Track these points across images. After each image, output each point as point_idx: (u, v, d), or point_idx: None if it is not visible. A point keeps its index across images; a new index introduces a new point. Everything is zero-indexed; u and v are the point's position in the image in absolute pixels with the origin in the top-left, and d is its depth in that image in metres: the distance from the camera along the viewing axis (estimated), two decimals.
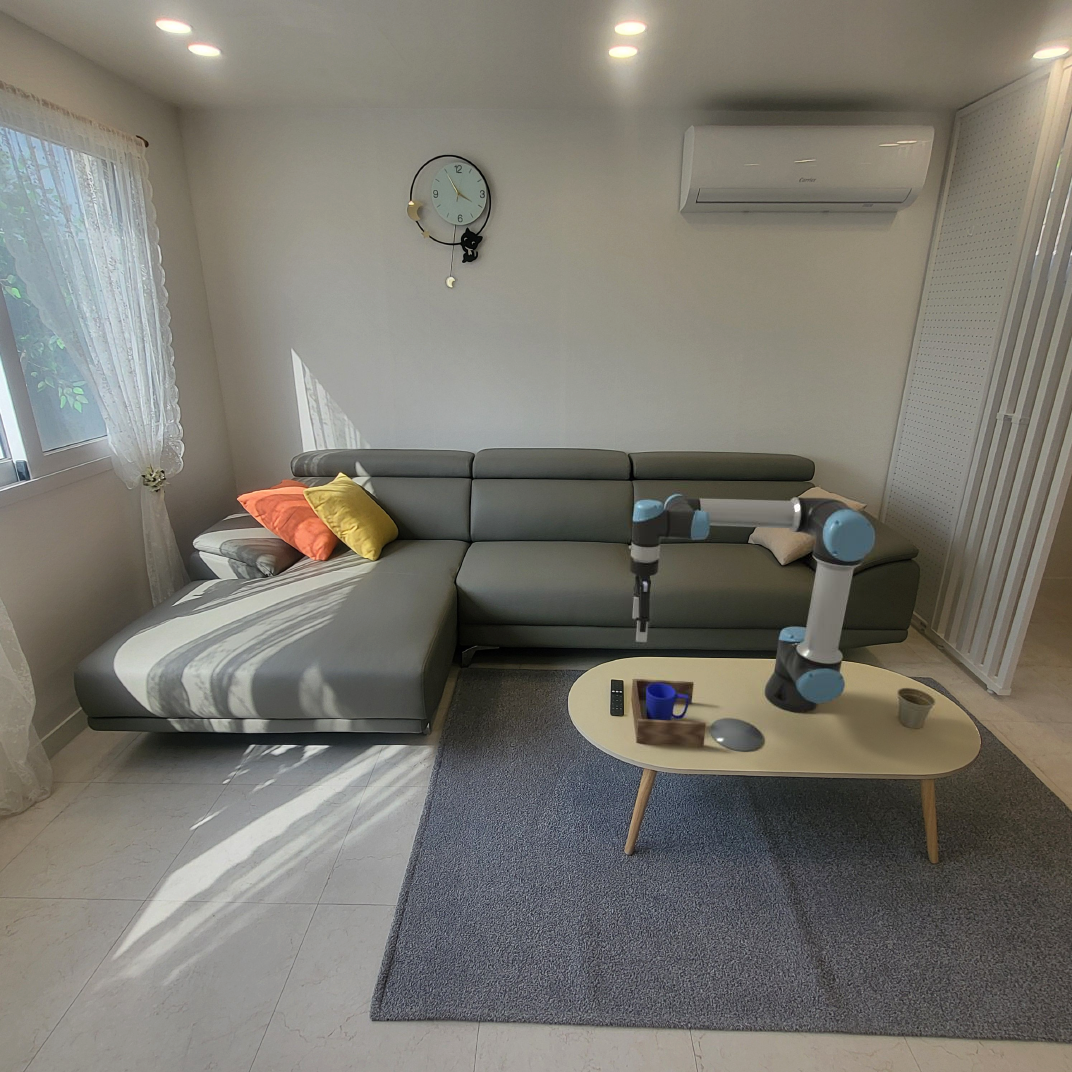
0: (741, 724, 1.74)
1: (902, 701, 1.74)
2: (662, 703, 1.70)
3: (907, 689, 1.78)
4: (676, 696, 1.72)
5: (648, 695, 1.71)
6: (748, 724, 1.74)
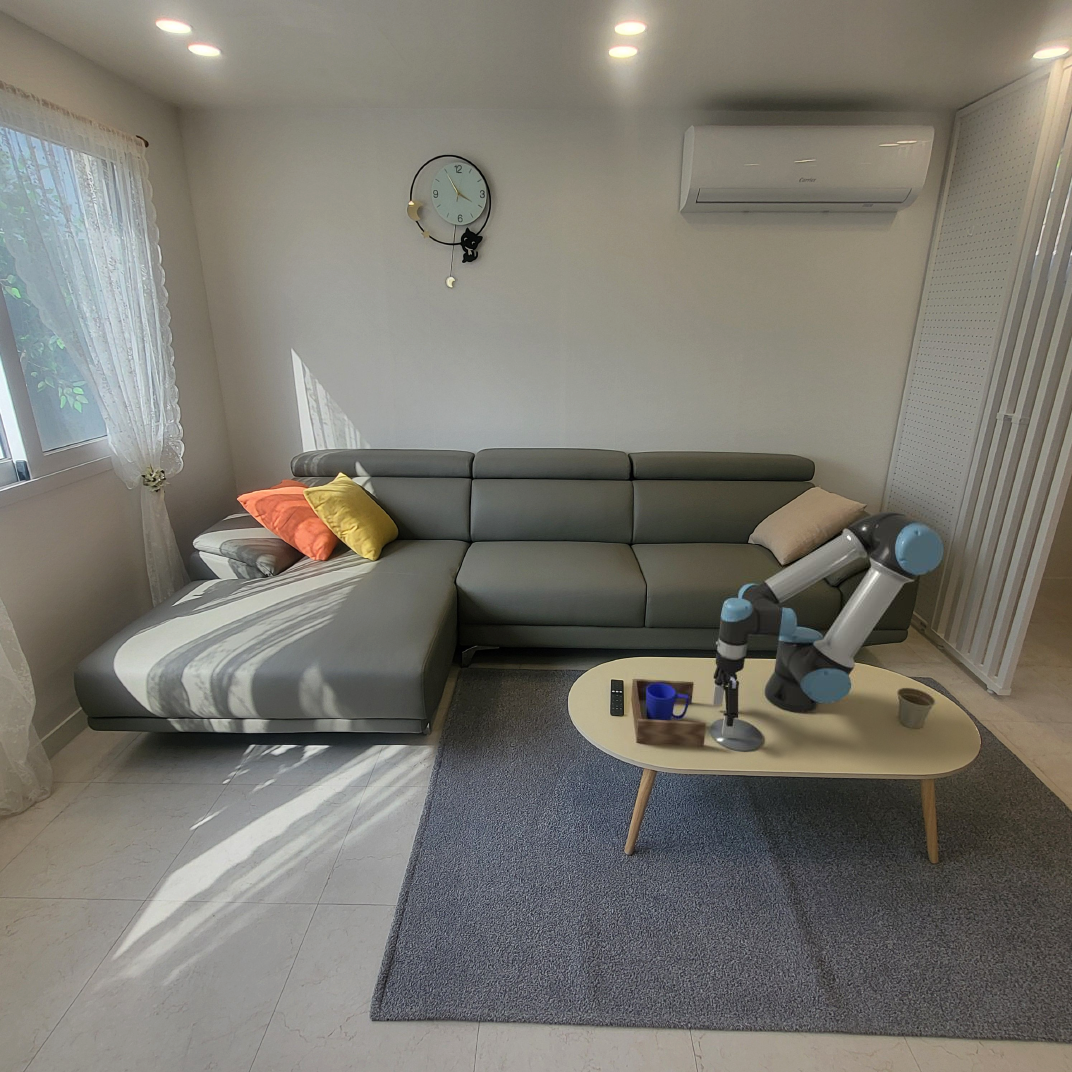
0: (741, 724, 1.74)
1: (902, 701, 1.74)
2: (662, 703, 1.70)
3: (907, 689, 1.78)
4: (676, 696, 1.72)
5: (648, 695, 1.71)
6: (748, 724, 1.74)
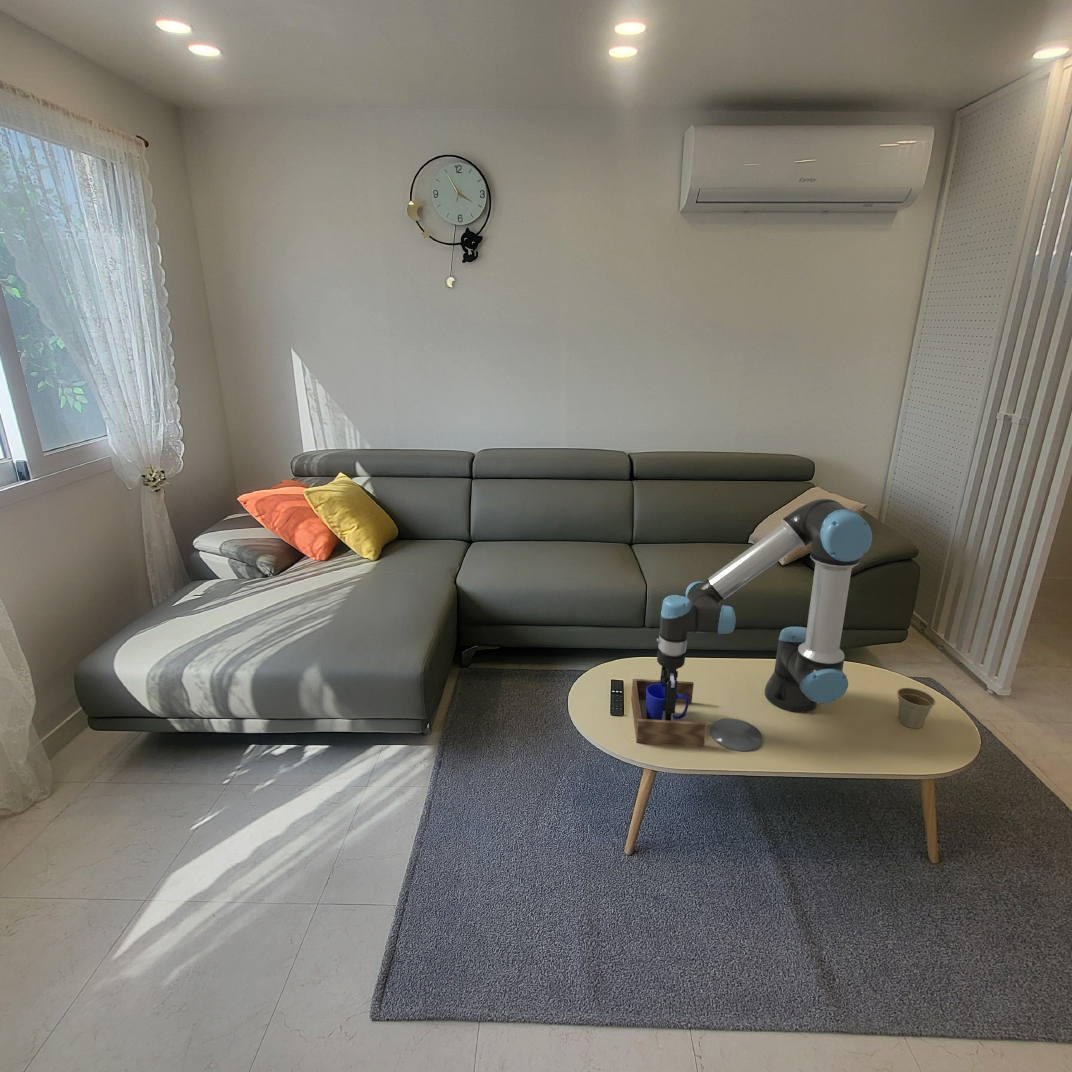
0: (741, 724, 1.74)
1: (902, 701, 1.74)
2: (662, 703, 1.69)
3: (907, 689, 1.78)
4: (676, 696, 1.72)
5: (648, 696, 1.71)
6: (748, 724, 1.74)
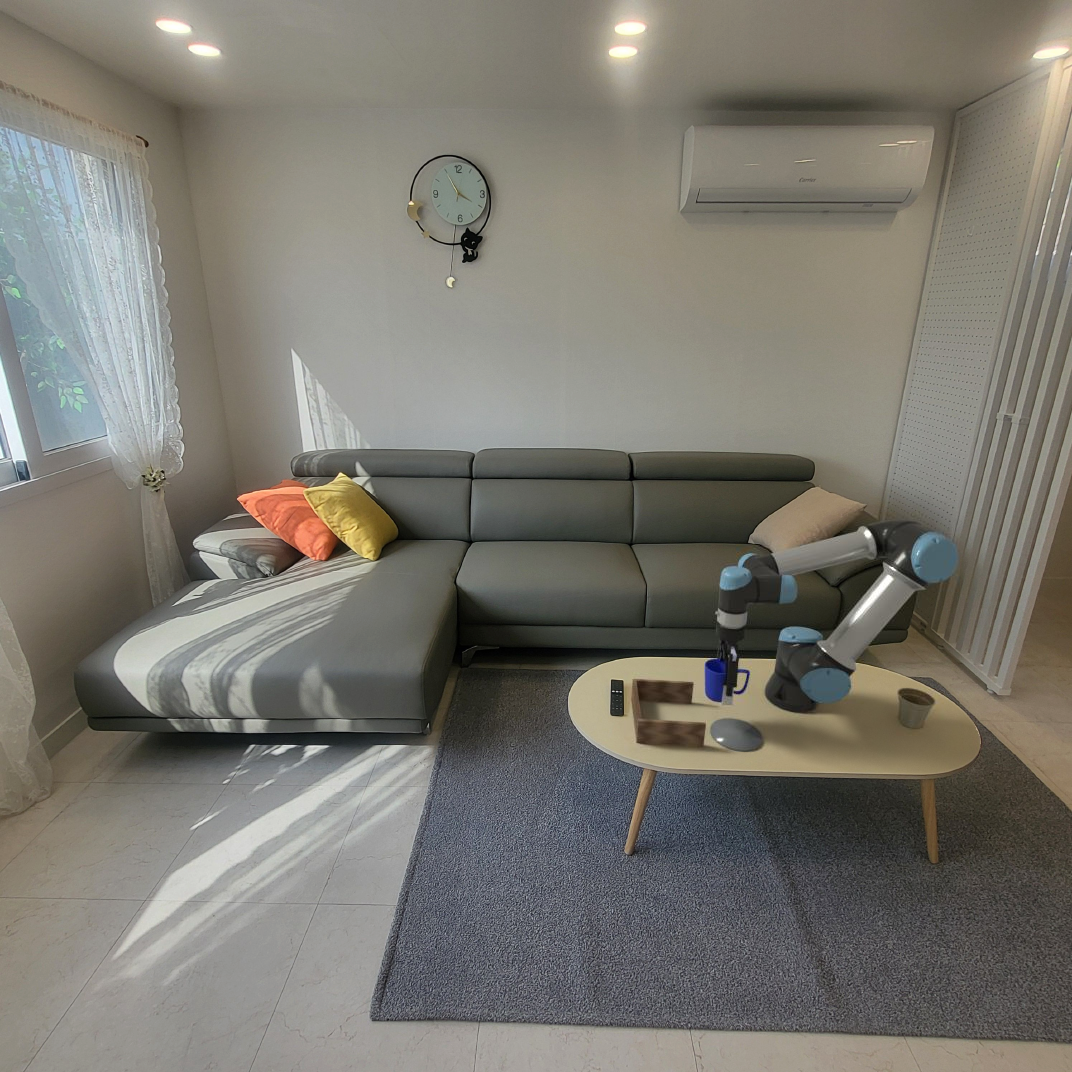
0: (741, 724, 1.74)
1: (902, 701, 1.74)
2: (723, 678, 1.65)
3: (907, 689, 1.78)
4: None
5: (708, 671, 1.67)
6: (748, 724, 1.74)
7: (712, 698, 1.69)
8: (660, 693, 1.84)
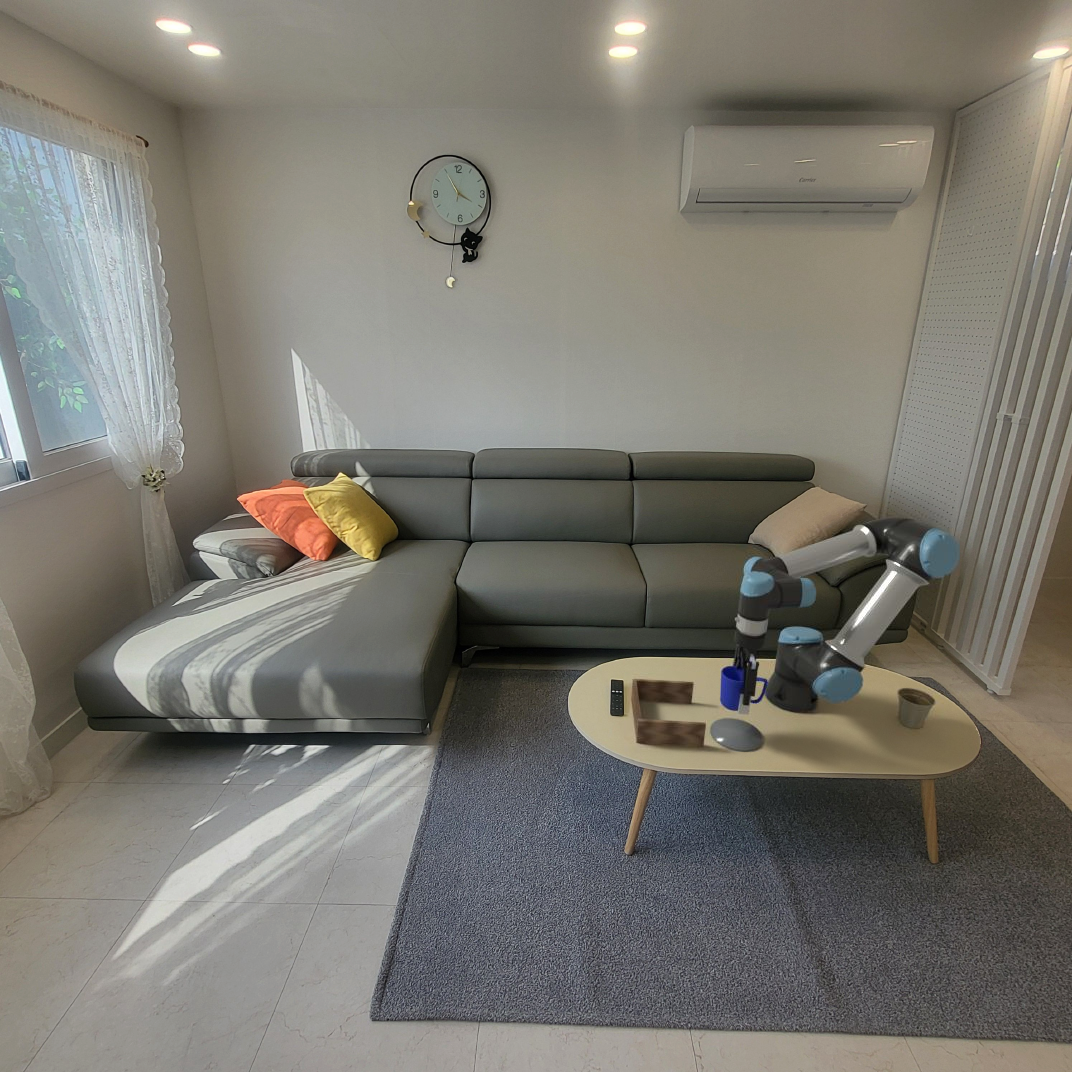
0: (741, 724, 1.74)
1: (902, 701, 1.74)
2: (740, 686, 1.61)
3: (907, 689, 1.78)
4: None
5: (725, 678, 1.62)
6: (748, 724, 1.74)
7: (728, 706, 1.64)
8: (660, 693, 1.84)
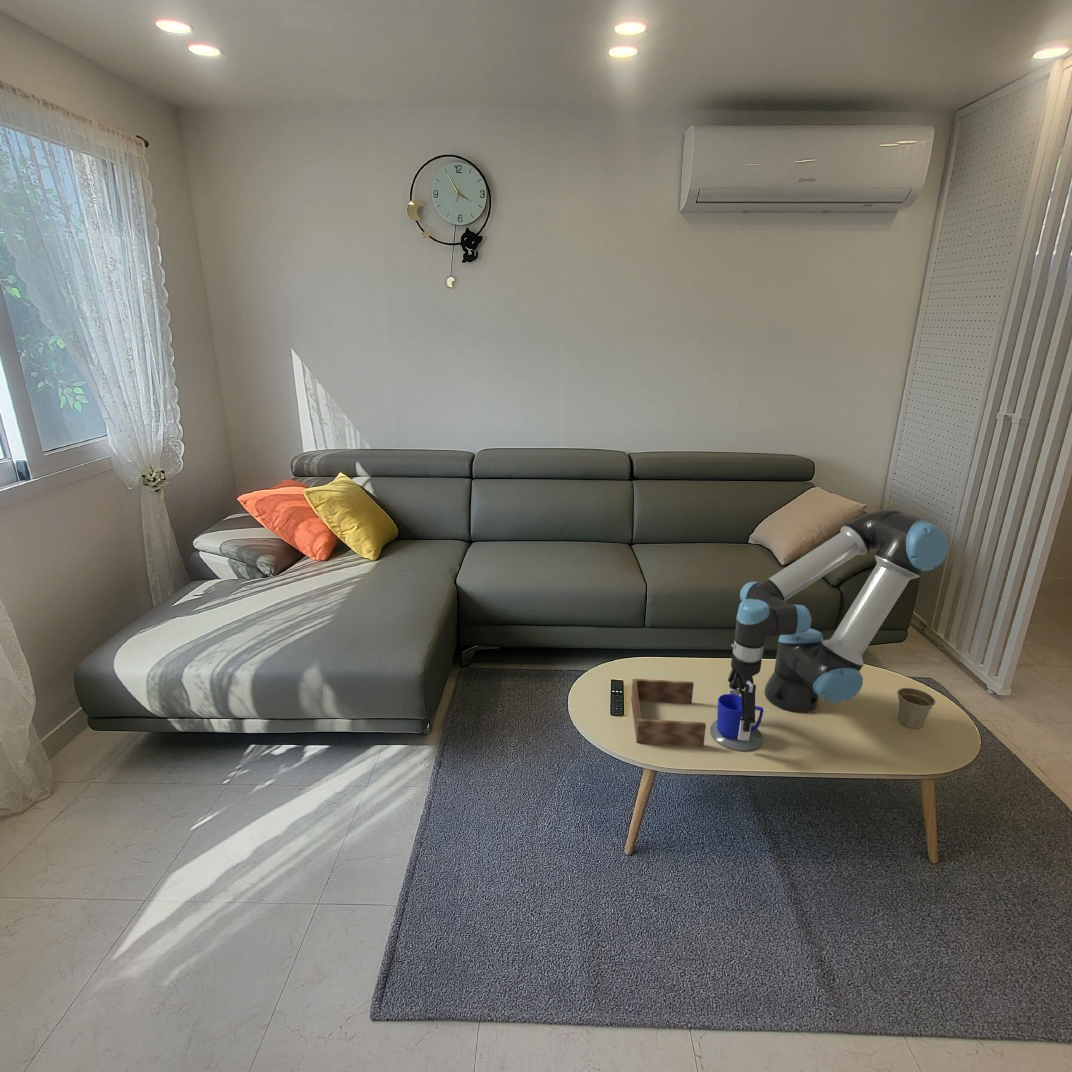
0: None
1: (902, 701, 1.74)
2: (736, 715, 1.63)
3: (907, 689, 1.78)
4: None
5: (721, 707, 1.65)
6: None
7: (724, 734, 1.67)
8: (660, 693, 1.84)
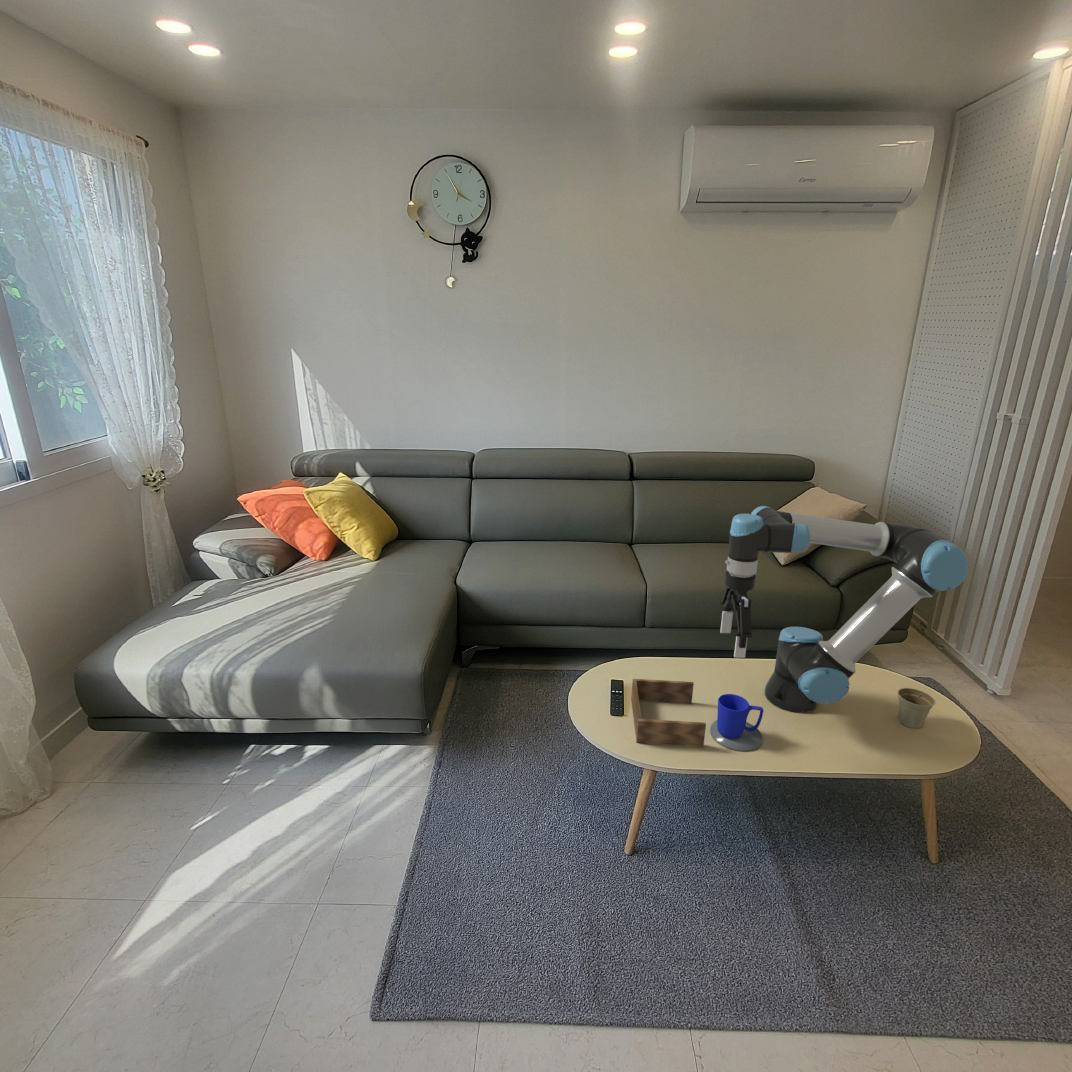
0: None
1: (902, 701, 1.74)
2: (736, 715, 1.63)
3: (907, 689, 1.78)
4: (750, 708, 1.66)
5: (721, 707, 1.65)
6: (748, 724, 1.74)
7: (724, 734, 1.67)
8: (660, 693, 1.84)
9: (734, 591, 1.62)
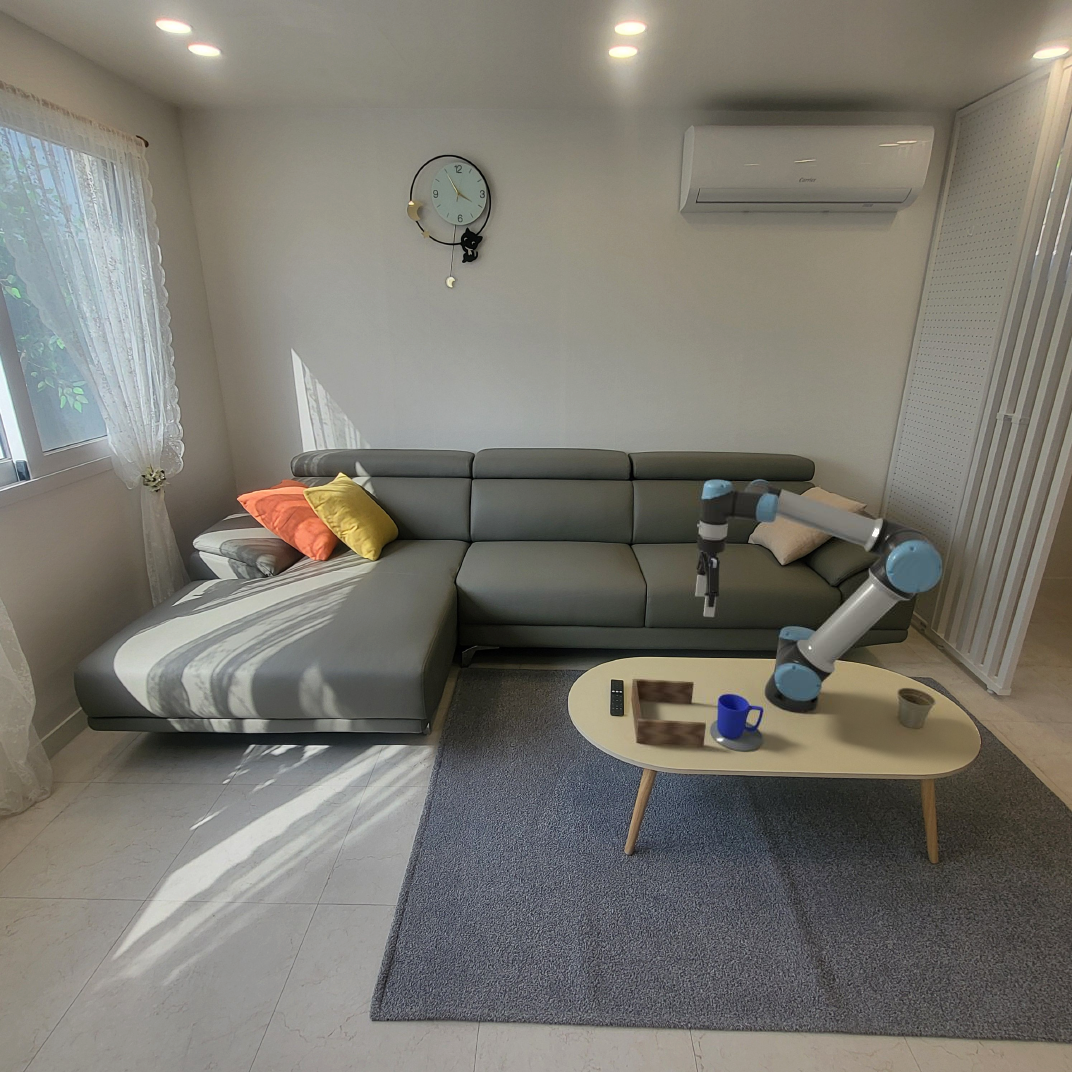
0: None
1: (902, 701, 1.74)
2: (736, 715, 1.63)
3: (907, 689, 1.78)
4: (750, 708, 1.66)
5: (721, 707, 1.65)
6: (748, 724, 1.74)
7: (724, 734, 1.67)
8: (660, 693, 1.84)
9: (706, 554, 1.70)
